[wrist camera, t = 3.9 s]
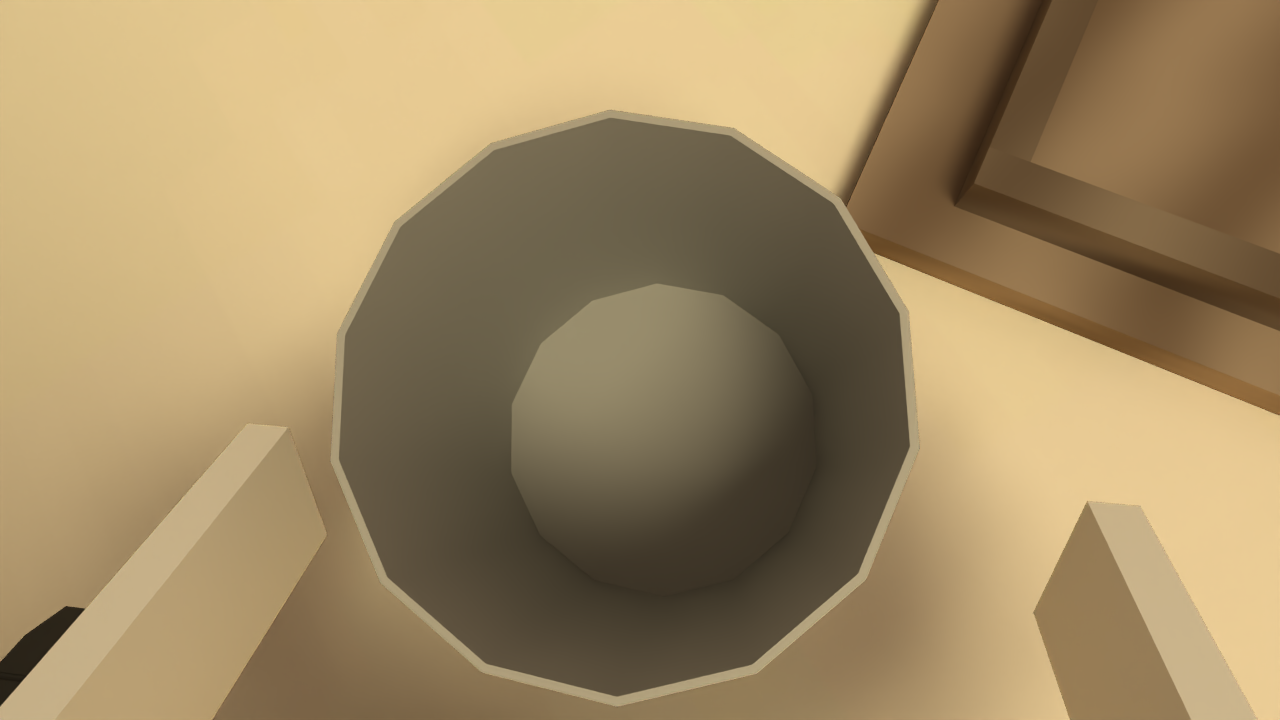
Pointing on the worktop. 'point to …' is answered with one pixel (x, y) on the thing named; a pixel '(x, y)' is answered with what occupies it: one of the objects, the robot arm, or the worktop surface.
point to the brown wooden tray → (1097, 174)
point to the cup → (624, 407)
